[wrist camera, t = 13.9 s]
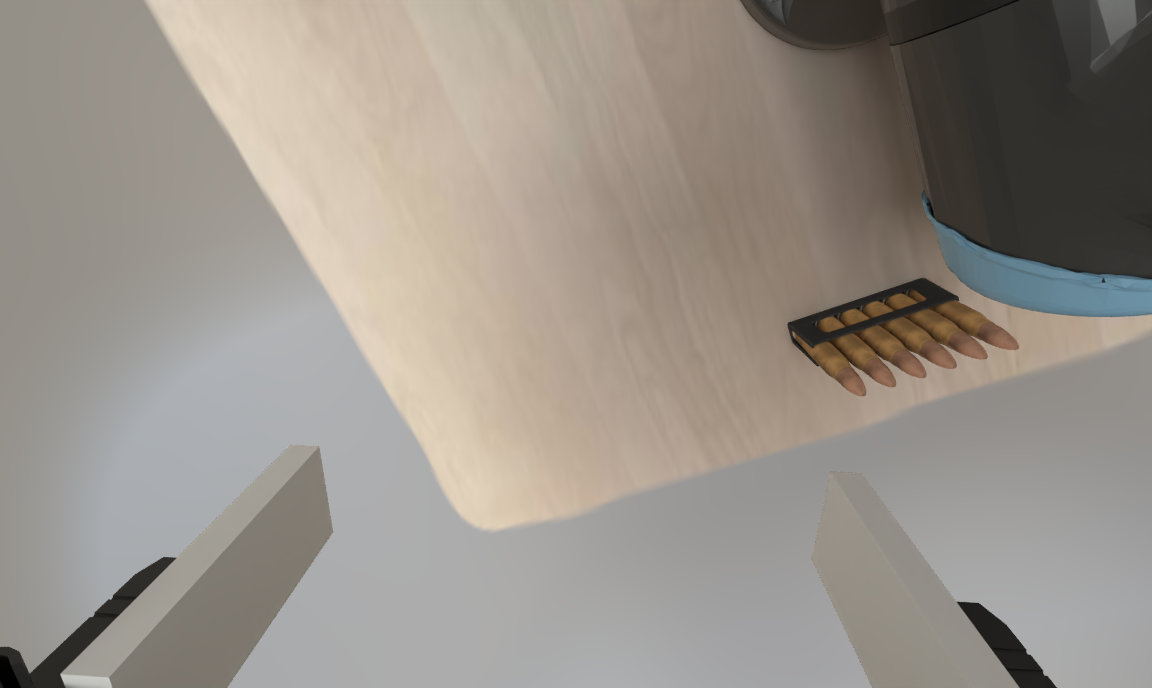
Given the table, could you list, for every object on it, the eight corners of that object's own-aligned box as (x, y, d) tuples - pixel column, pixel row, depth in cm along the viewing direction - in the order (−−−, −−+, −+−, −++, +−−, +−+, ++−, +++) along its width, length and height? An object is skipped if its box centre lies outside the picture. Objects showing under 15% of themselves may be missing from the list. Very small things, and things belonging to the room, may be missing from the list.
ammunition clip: (924, 277, 44) (1033, 328, 32) (928, 298, 44) (1036, 356, 33) (786, 323, 46) (845, 386, 34) (792, 343, 46) (851, 412, 35)
